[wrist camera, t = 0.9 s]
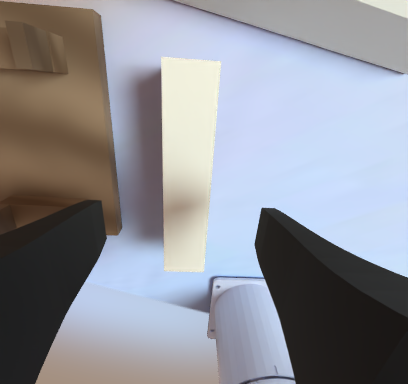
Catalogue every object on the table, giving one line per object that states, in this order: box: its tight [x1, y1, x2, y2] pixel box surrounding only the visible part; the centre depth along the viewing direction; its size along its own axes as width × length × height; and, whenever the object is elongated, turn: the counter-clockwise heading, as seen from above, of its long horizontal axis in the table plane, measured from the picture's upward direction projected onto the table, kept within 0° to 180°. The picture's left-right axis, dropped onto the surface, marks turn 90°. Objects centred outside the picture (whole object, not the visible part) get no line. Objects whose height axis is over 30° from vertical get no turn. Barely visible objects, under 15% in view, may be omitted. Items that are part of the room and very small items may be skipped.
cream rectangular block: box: [161, 57, 221, 272], centre depth 16 cm, size 14×3×5 cm, turn 176°
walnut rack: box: [0, 1, 122, 235], centre depth 15 cm, size 16×10×4 cm, turn 176°
